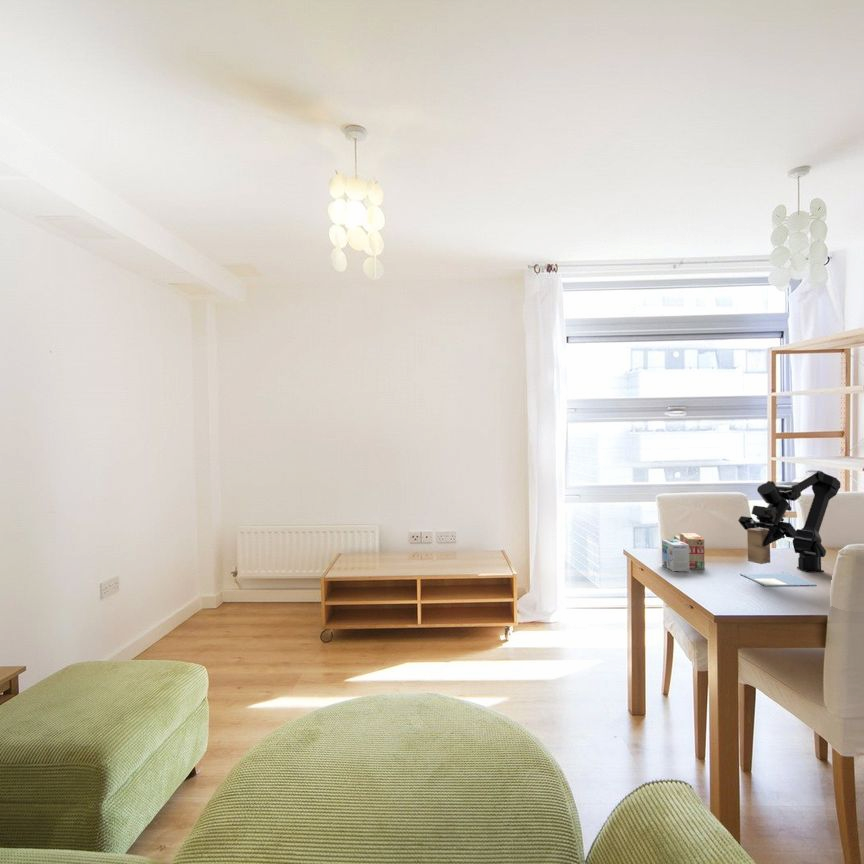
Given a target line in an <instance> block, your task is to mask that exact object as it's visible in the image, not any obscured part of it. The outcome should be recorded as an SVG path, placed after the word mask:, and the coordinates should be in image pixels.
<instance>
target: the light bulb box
mask: <svg viewBox="0 0 864 864" xmlns="http://www.w3.org/2000/svg"><path fill="white" fill-rule="evenodd" d="M661 552H662V553H661V555H662V557H661V559H662V560H661V561H662V564H663V565H664V566H663V565H662V566H663V567H665V566H666V567H667V568H666V567H665V568H666V569H668V568H669V569H670V570H669V569H668V570H669V571H671V570H672V571H671V572H673V571H686V572H687V571H689V572H690V568H689V545H688V544H686V543H684V542H682V541H679V540H677V539H674V538H673V539H662V540H661ZM686 572H685V573H686Z"/></svg>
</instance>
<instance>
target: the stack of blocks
mask: <svg viewBox="0 0 864 864" xmlns="http://www.w3.org/2000/svg"><path fill="white" fill-rule="evenodd" d="M674 539H677V540H679V541H682V542H684V543H686V544H688V545H689V569H692V568H703V569H702V570H704V569H705V538H703V537H702V536H700V535H699V534H697V533H695V532H679V535H674V536H673V540H674Z"/></svg>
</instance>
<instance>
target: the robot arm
mask: <svg viewBox="0 0 864 864" xmlns="http://www.w3.org/2000/svg"><path fill="white" fill-rule="evenodd" d="M809 487H811V490H812V492H813V495H814V496H813V499H812V502H811V504H810V508H809V510H808V514H807V517H806V519H805V523H804V525H803V527H802V528H801V529H799V528H797V529H795V528H794V526H793V524H792V523H791V522H785V519H784V518H783V517H784V515H785V514H786V512H787V511H790V512H791V511H792V507H791V503H790V502H788V501H792V502H793V501H797V500H798V499H799V498H800V497H801V496H802V492H803V491H804V490H806V489H808V488H809ZM840 488H841V481H840V480H838V478H837V477H834V476H833V475H829V474H828V473H827V474H826V473H825V472H823V471H822V470H813V469H809V470H806V471H805V473H803V474H802V475H800V476H797V477H796V478H795V479H793V480H792V481H789V482H782V483H778V484H776V483H775V482H774V481H772V480H768V481H767V482H765V483H762V484H761V485H759V486H758V487H757V492H758V493H757V494H759V496H760V497H761V498H762V500H763V501H764V502H765V503H766V504H768V506H767V507H766V506H761V505H753V507H752V510H751V515H754V516H756V520H758V521H756V520H755V519H753V517H752V516H744V515H742V516H740V517H739V518H738V522H739V524H740V525H741V526H742V527H743V529H744V530H745V531H747V529H750V528H762V529H768V530H769V533H768V535H767V536H766V538H765V540H764V542H763V546H767V545H769V544H770V545H771V544H772V543H774V542H776V541H779V540H781V539H785V537H786V538H789V539H792V545H793V550H794V553H795V554H798V559H797V560H798V564H797V565H798V566H796V569H797V570H798V569H799V570H801V571H804V572H807V573H825V570H824V569H822V558H825V557H826V555H827V554H826V552H827V550H826V549H825V547H824V546H823V545H822V538H821V536H820V530H821V526H822V523H823V521H824V517H825V514H826V510H827V508H828V505H829V501H830V500H831V499H832V498H834V497H836V495H837V494H838V492H839V490H840Z"/></svg>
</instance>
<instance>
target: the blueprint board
mask: <svg viewBox="0 0 864 864" xmlns="http://www.w3.org/2000/svg"><path fill="white" fill-rule="evenodd" d="M739 575H740V576H742V577H744V578H746V579H748V580H750V579H751V581H752V580H753V582H755V583H757V584H759V583H760V584H759V585H761V584H762V585H761V586H763V585H764V587H795V586H794V585H797V586H796V587H801V586H800V585H809V586H808V587H816V586H817V584H815V583H813V582H811V581H808V580H806V579H803V578H801V577H798V576H797V575H793V574H791V573H789V572H782V573H780V572H778V573H777V572H776V573H775V572H773V573H771V572H768V573H766V572H764V573H763V572H762V573H761V572H760V573H757V572H755V573H740V574H739ZM788 585H789V586H788Z"/></svg>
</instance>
